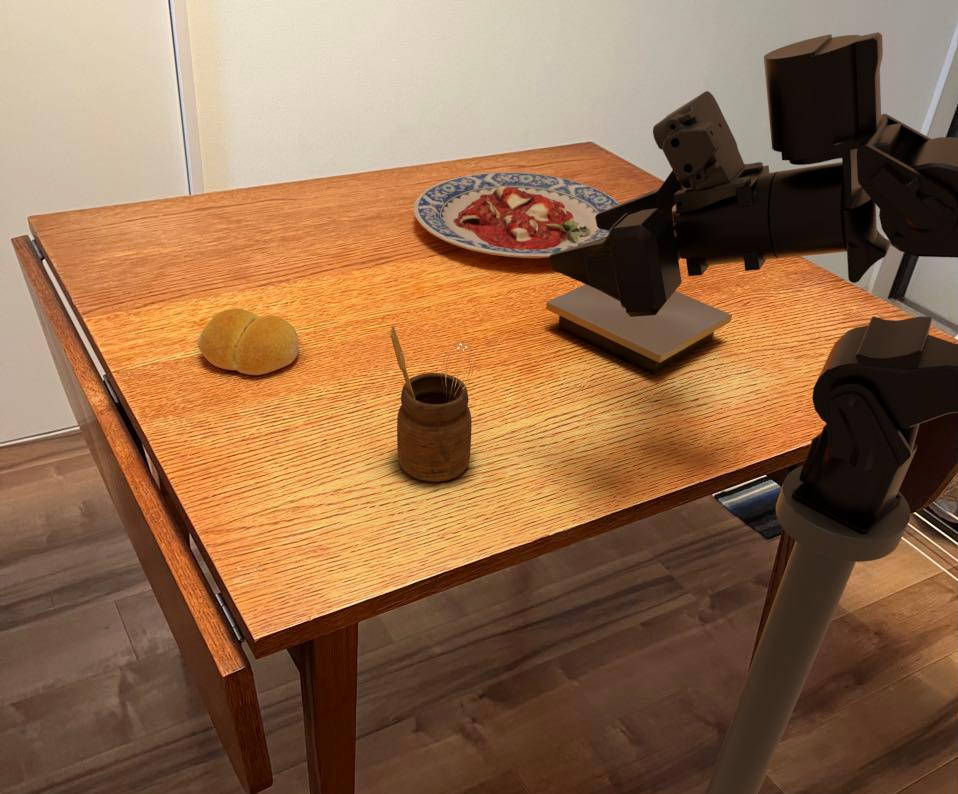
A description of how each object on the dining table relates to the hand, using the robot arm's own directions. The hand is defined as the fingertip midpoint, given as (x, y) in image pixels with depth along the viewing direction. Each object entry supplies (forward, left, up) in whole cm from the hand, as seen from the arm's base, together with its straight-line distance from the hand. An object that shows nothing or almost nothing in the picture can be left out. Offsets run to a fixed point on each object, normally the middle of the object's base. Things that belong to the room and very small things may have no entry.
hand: (574, 240), depth 71 cm
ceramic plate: (+30, -27, -16) cm, 43 cm away
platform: (+4, -16, -16) cm, 23 cm away
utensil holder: (+2, +14, -16) cm, 21 cm away
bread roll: (+26, +15, -16) cm, 33 cm away
